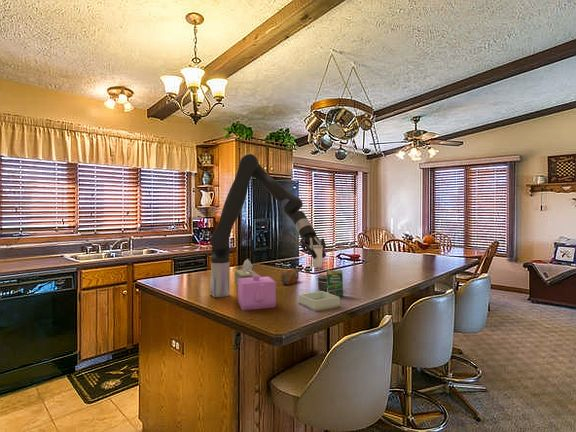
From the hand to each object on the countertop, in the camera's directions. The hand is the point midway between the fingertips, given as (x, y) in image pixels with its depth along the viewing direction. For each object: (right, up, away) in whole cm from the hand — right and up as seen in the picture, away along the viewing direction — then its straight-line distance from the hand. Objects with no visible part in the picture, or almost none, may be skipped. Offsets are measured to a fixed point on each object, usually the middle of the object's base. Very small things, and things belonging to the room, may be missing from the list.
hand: (320, 257), depth 160 cm
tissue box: (-39, -22, +42) cm, 62 cm away
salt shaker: (-1, -5, +2) cm, 5 cm away
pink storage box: (-29, -23, 0) cm, 37 cm away
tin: (-14, -22, +49) cm, 55 cm away
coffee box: (+9, -22, +17) cm, 30 cm away
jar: (+7, -22, +30) cm, 38 cm away
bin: (-1, -22, 0) cm, 22 cm away
